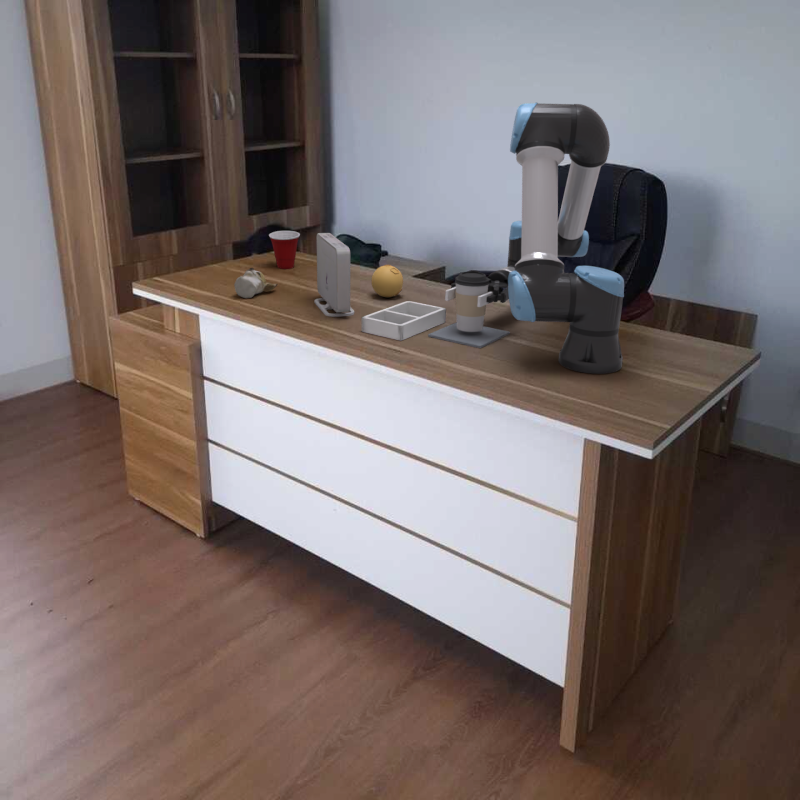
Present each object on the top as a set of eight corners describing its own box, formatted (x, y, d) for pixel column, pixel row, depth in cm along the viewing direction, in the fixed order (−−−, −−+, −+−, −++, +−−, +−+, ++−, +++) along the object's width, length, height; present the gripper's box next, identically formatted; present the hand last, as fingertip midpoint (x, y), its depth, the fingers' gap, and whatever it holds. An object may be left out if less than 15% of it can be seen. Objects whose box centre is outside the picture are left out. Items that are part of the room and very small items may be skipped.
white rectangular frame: (445, 322, 231) (446, 308, 230) (401, 340, 214) (401, 326, 213) (407, 314, 238) (407, 300, 236) (361, 331, 221) (361, 317, 220)
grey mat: (509, 333, 222) (509, 331, 222) (480, 348, 210) (480, 346, 210) (458, 323, 230) (459, 321, 230) (427, 336, 218) (428, 334, 218)
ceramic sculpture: (224, 269, 247) (249, 262, 261) (225, 297, 250) (249, 289, 264) (255, 273, 244) (279, 266, 258) (256, 301, 247) (279, 293, 260)
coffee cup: (484, 334, 215) (488, 278, 209) (450, 331, 216) (453, 275, 211) (488, 324, 223) (491, 270, 217) (455, 322, 224) (457, 268, 219)
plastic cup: (265, 269, 287) (264, 235, 282) (275, 263, 297) (274, 230, 292) (295, 271, 285) (295, 237, 281) (304, 265, 295) (303, 231, 291)
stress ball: (392, 302, 250) (393, 270, 246) (365, 297, 254) (365, 265, 250) (408, 295, 258) (409, 264, 254) (381, 291, 262) (382, 260, 258)
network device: (310, 297, 253) (309, 232, 245) (337, 296, 255) (337, 231, 248) (329, 320, 230) (328, 249, 223) (359, 318, 233) (359, 248, 225)
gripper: (537, 302, 226) (498, 320, 208) (469, 289, 237) (426, 305, 220) (540, 275, 223) (500, 291, 205) (470, 263, 234) (427, 278, 217)
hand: (462, 298), depth 213 cm, fingers closed on coffee cup, 9 cm apart
